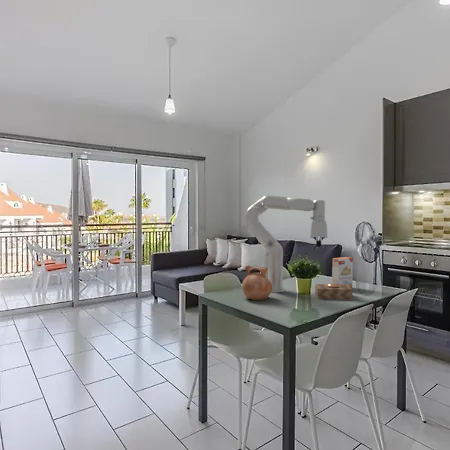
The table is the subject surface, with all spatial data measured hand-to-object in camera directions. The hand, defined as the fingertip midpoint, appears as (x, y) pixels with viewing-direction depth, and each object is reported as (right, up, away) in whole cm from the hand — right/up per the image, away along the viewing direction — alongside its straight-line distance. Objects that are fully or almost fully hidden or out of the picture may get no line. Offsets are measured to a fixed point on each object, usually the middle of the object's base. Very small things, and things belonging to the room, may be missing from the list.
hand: (318, 246), depth 231 cm
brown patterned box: (+5, -30, -14) cm, 33 cm away
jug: (-42, -30, -17) cm, 54 cm away
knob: (+5, -29, -14) cm, 33 cm away
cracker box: (+18, -29, +8) cm, 35 cm away
